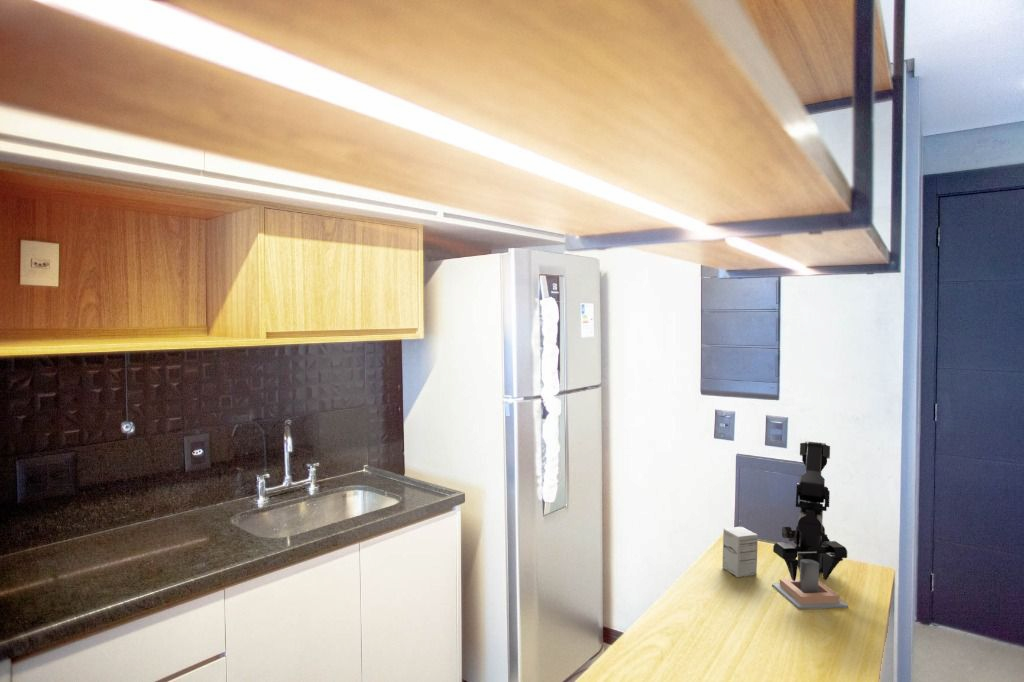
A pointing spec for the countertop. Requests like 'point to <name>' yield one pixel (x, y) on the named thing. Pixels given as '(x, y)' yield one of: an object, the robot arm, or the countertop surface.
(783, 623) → the countertop surface
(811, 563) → the grey rounded tapered cylinder
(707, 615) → the countertop surface
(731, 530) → the supplement box
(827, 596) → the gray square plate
